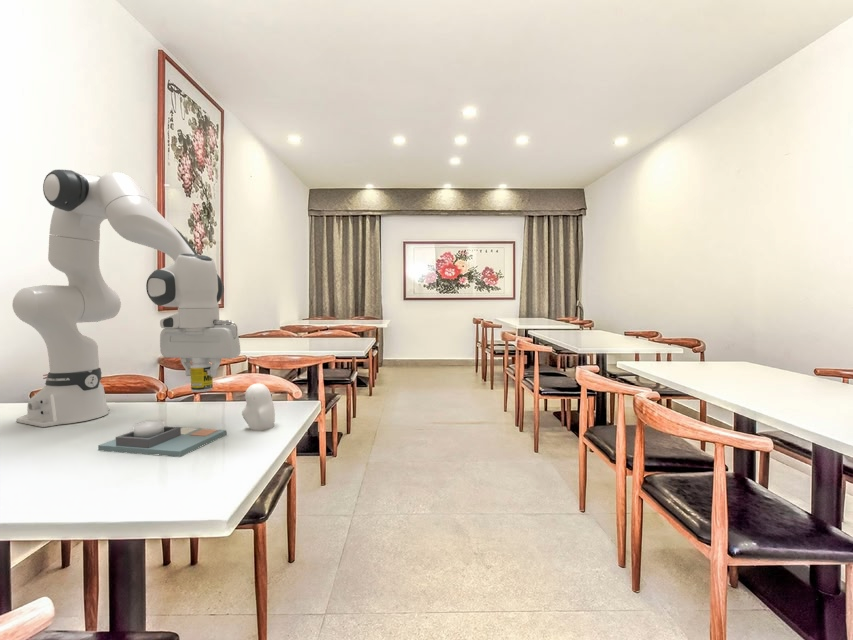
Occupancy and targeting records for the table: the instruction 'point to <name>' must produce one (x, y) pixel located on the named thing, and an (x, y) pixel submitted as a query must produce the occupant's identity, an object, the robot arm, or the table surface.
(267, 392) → the figurine
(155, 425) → the dome
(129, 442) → the board
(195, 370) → the supplement bottle
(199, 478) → the table surface
